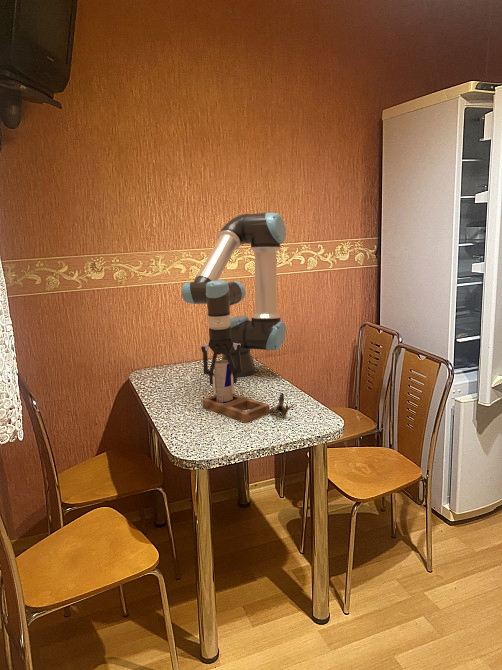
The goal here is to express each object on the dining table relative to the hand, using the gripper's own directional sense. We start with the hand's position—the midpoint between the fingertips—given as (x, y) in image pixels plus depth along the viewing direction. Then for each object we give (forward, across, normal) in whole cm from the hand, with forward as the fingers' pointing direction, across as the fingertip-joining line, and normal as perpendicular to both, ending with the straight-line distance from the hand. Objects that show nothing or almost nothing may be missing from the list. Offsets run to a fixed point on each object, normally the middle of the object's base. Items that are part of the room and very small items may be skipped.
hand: (224, 392), depth 192 cm
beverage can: (+4, 0, 0) cm, 4 cm away
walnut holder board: (+5, +4, -4) cm, 8 cm away
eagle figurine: (+6, +19, -8) cm, 22 cm away
